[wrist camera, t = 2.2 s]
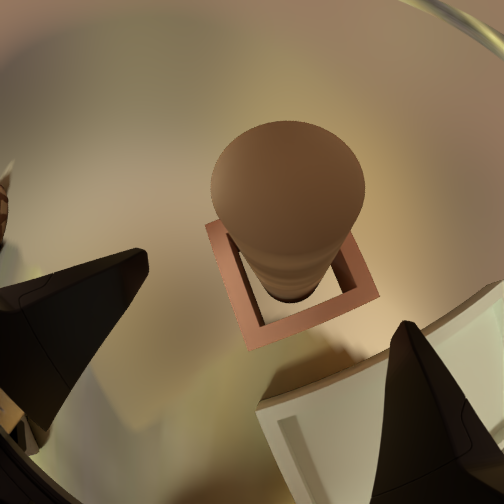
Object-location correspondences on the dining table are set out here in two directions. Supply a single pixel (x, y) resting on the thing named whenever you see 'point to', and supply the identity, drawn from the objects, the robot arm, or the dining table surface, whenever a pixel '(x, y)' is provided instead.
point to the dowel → (288, 202)
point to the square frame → (258, 334)
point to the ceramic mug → (29, 439)
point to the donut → (3, 212)
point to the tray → (380, 405)
